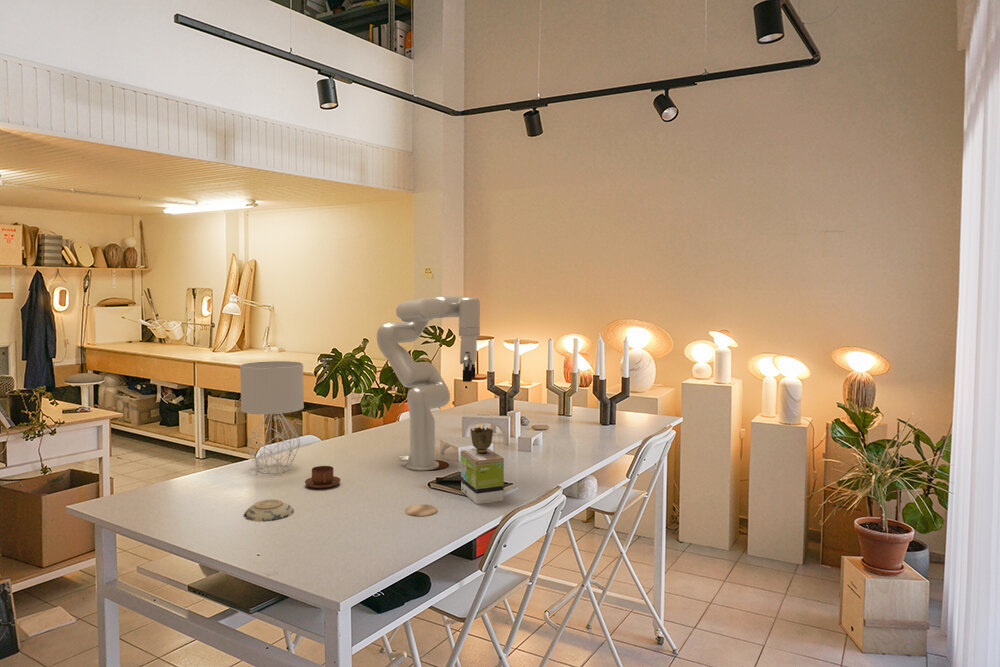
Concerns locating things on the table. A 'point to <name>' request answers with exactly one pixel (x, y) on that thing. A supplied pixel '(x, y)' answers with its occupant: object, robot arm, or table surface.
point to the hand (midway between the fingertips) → (469, 379)
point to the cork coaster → (421, 510)
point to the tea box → (482, 476)
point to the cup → (481, 439)
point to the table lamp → (272, 397)
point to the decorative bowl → (268, 511)
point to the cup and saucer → (322, 477)
